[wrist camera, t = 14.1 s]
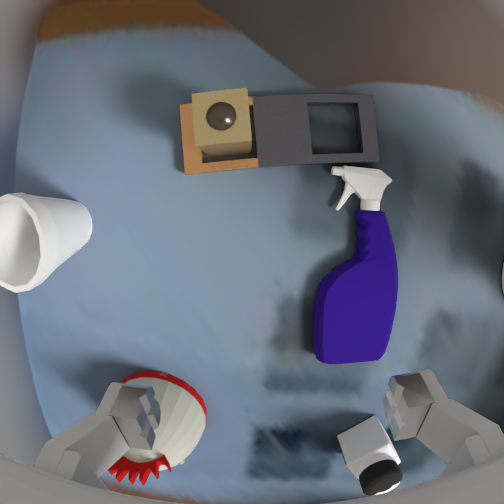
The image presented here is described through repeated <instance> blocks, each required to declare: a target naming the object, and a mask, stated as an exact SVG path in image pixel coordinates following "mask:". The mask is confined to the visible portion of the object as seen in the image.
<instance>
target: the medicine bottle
mask: <svg viewBox="0 0 504 504" xmlns="http://www.w3.org/2000/svg"><path fill="white" fill-rule="evenodd" d="M337 439H338V442H339V445H340V448H341V451H342V454H343V457H344V460H345V463H346V466H347V467H348V468H349V469H350V470H351V472H352V473H353V474H354V475H355V476H356V477H357V479H358V480H359V481H360V484H361V487H362V490H363V492H364V494H366V495H369V496H373V495H378V494H383V493H387V492H389V491H391V490H392V489H394V488H395V487H396V486H397V485H398V484H399V483H400V482H401V479H402V473H401V471H400V469H399V467H398V464H399V463H400V462H401V460H400V458H399V456H398V454H397V452H396V450H395V448H394V446H393V445H392V443H391V441H390V439H389V437H388V435H387V433H386V431H385V430H384V428H383V426H382V425H381V423H380V421H379V419H378V418H377V416H376V415H374V416H372V417H370V418H368V419H367V420H365V421H363V422H361V423H360V424H358V425H356V426H354V427H352V428H350V429H348V430H347V431H345V432H343V433H341V434H339V435H337Z"/></svg>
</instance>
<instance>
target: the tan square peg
mask: <svg viewBox="0 0 504 504" xmlns="http://www.w3.org/2000/svg"><path fill="white" fill-rule="evenodd" d="M192 108H193V122H194V135H195V146H196V147H197V148H199V149H200V150H202V151H203V152H205V153H206V154H208V155H209V156H220V155H230V154H241V153H251V145H252V135H251V124H250V113H249V102H248V91H247V88H238V89H228V90H218V91H210V92H202V93H194V94H192Z"/></svg>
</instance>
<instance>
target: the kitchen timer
mask: <svg viewBox="0 0 504 504" xmlns="http://www.w3.org/2000/svg"><path fill="white" fill-rule="evenodd" d="M122 383H124V384H125V383H126V384H134V385H143V386H151V387H153V389H154V392H155V396H154V399H155V400H156V401H158V403H159V405H160V410H161V419H160V424H159V427H157V428H156V429H155V430H154V433H155V435H156V437H155V441H154V444H153V448H152V450H146V449H138V448H130V447H129V448H130V449H129V450H128V451H127V452H126V453H125V454H124V455H123V456H122V457H121V458H120V459H118V460H117V461H116V462H115V463H114V464H113V465H112V466H111V467H110V468H109V469H108V471H109V472H110V474H111V475H112V474H114V473H115V472H117V474H116V479H117V480H118V482H121V481H122V479H123V478H124V477H125V476H126V474H127V473H128V472H129V481H130V482H131V483H132V484H133V483H134V482H135V480H136V478H137V476H138V474H139V473H140V476H139V478H140V481H141V483H142V484H143V485H144V484H145V483H146V481H147V478H148V476H149V474H150V473H151V472H153V474H154V475H155V477H156V478H157V479H158V478H159V471H162V470H166V469H168V470H169V471H170V472H171V467H173V466H175V465H177V464H179V465H181V464H183V463H184V462H185V458H186V457H187V456H188V455H189V454H190V453H191V452H192V450H193V449H194V448H195V446H196V445H197V443H198V442H199V440H200V438H201V436H202V433H203V431H204V429H205V425H206V407H205V404H204V402H203V399H202V398H201V397H200V395H199V394H198V393H197V392H196V390H195V389H194V388H192V387H191V386H190V385H188V384H187V383H186V382H185V381H183V380H181V379H179V378H176V377H174V376H172V375H169V374H165V373H161V372H155V371H143V372H139V373H135V374H132V375H131V376H129V377H127V378H126V379H124V381H123V382H122Z"/></svg>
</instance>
